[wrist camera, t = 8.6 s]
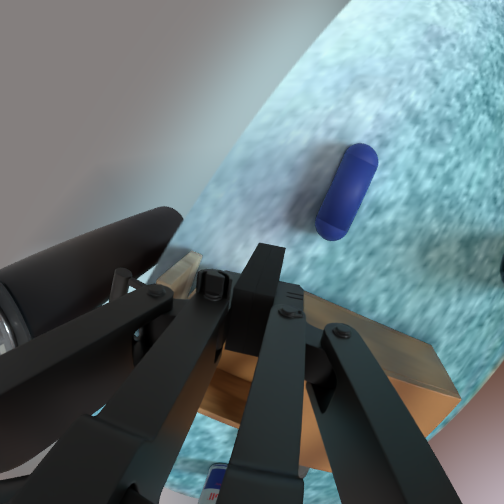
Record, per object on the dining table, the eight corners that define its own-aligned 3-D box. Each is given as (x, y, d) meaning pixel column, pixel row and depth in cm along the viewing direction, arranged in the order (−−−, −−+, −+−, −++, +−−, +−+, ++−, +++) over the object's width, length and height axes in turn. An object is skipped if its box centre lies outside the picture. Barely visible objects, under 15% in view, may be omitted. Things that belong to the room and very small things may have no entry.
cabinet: (250, 384, 34) (234, 445, 25) (303, 290, 29) (303, 344, 20) (367, 423, 33) (375, 480, 24) (431, 345, 29) (462, 399, 20)
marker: (309, 228, 28) (309, 235, 25) (349, 138, 25) (355, 135, 22) (338, 241, 28) (342, 250, 25) (378, 153, 25) (387, 152, 22)
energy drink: (248, 471, 39) (234, 531, 28) (232, 481, 41) (216, 536, 30) (219, 459, 39) (199, 519, 28) (204, 469, 41) (184, 524, 30)
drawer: (124, 324, 33) (88, 360, 26) (148, 229, 29) (103, 250, 22) (283, 398, 32) (277, 448, 25) (338, 315, 29) (347, 362, 21)
